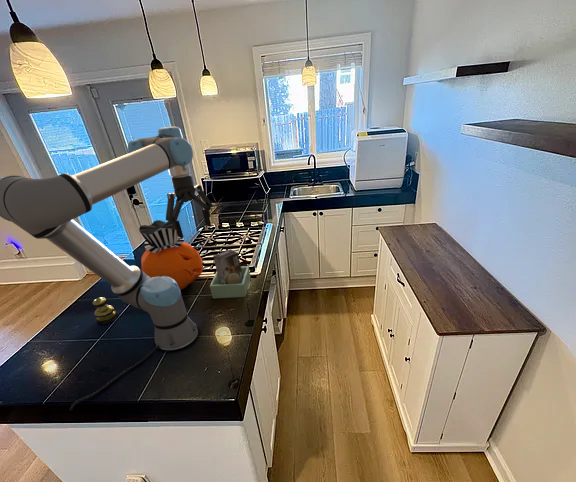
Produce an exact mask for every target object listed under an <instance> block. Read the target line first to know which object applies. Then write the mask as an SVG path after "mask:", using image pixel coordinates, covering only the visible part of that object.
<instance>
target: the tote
mask: <svg viewBox="0 0 576 482" xmlns="http://www.w3.org/2000/svg"><path fill="white" fill-rule="evenodd" d="M241 271H242V276H243V282H242V284H225V285H220V282H219V278H218V274H217V271H216V272H215V274H214V276H213V278H212V280H211V283H210V285H209V289H210V292H211V297H212V299H230V298H246V296H247V294H248V291H249V290H248V289H249V286H250V282H251V277H252V276H251V271H250V266H249V265H248V266H247V265H246V266H241Z"/></svg>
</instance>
